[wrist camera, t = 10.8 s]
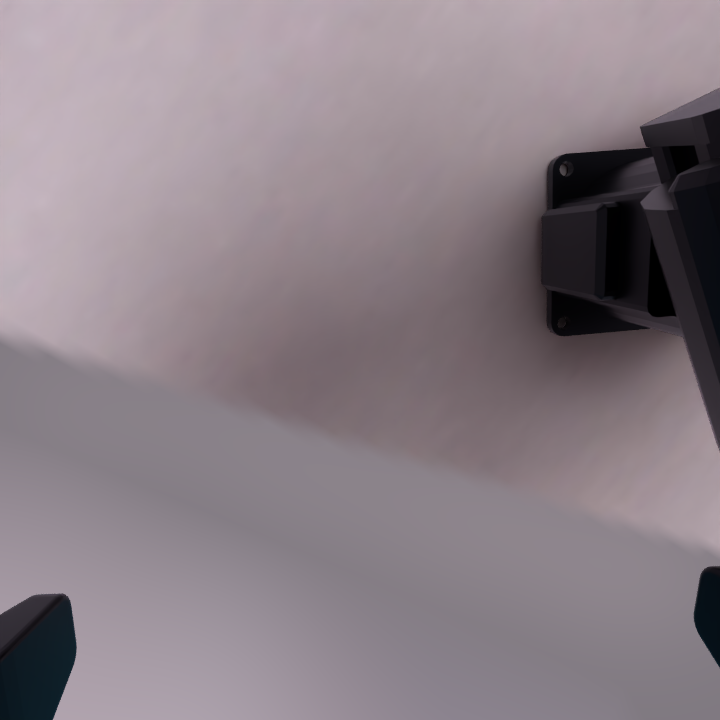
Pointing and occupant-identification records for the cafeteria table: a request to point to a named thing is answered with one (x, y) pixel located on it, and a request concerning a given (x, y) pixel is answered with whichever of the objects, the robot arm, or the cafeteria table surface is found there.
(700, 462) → the cafeteria table surface
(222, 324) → the cafeteria table surface
